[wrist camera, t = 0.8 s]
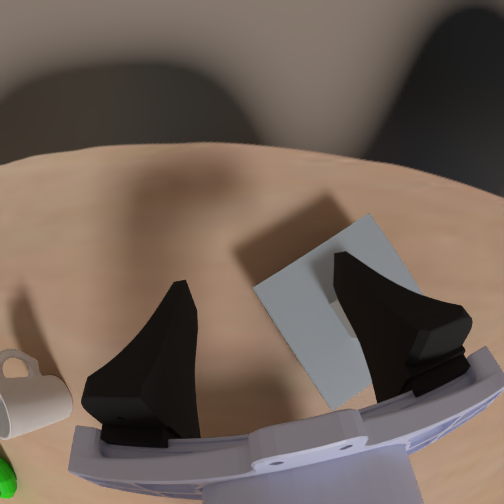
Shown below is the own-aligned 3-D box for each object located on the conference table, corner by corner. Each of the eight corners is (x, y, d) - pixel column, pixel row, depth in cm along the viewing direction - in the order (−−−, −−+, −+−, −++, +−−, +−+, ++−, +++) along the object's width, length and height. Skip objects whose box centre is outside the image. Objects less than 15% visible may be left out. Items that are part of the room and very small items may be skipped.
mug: (80, 423, 25) (18, 446, 14) (47, 417, 25) (-12, 432, 14) (64, 348, 28) (-5, 348, 16) (33, 349, 28) (-31, 346, 16)
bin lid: (434, 324, 22) (463, 321, 18) (330, 408, 21) (344, 425, 17) (366, 215, 26) (383, 194, 21) (253, 288, 24) (250, 280, 20)
